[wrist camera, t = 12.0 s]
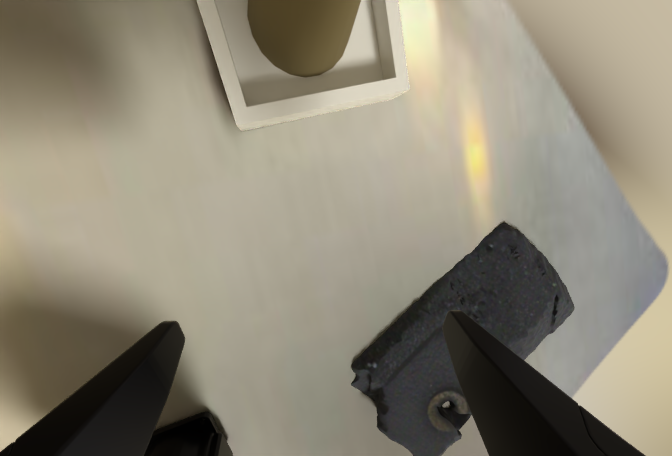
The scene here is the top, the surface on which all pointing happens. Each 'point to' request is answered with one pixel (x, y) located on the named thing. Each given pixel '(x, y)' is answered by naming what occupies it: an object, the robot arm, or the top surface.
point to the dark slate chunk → (430, 346)
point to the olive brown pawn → (302, 32)
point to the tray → (311, 92)
